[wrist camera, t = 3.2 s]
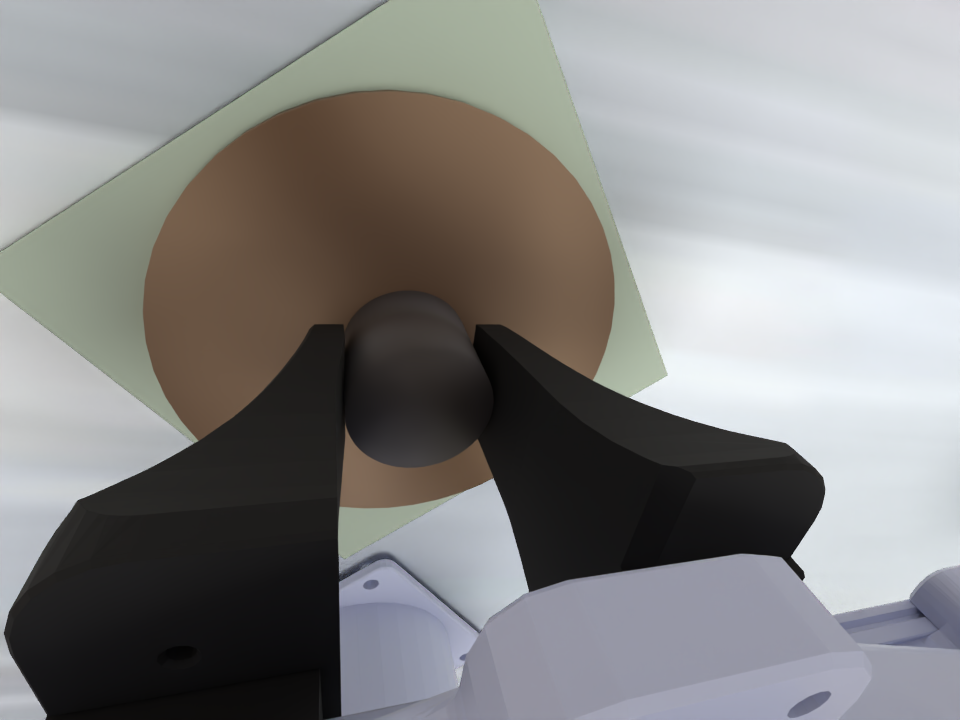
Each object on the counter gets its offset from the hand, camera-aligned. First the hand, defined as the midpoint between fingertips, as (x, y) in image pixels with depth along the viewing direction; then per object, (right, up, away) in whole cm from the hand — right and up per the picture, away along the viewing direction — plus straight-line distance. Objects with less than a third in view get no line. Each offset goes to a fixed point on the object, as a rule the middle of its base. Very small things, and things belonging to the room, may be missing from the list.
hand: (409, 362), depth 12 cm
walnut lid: (0, +1, +1) cm, 1 cm away
